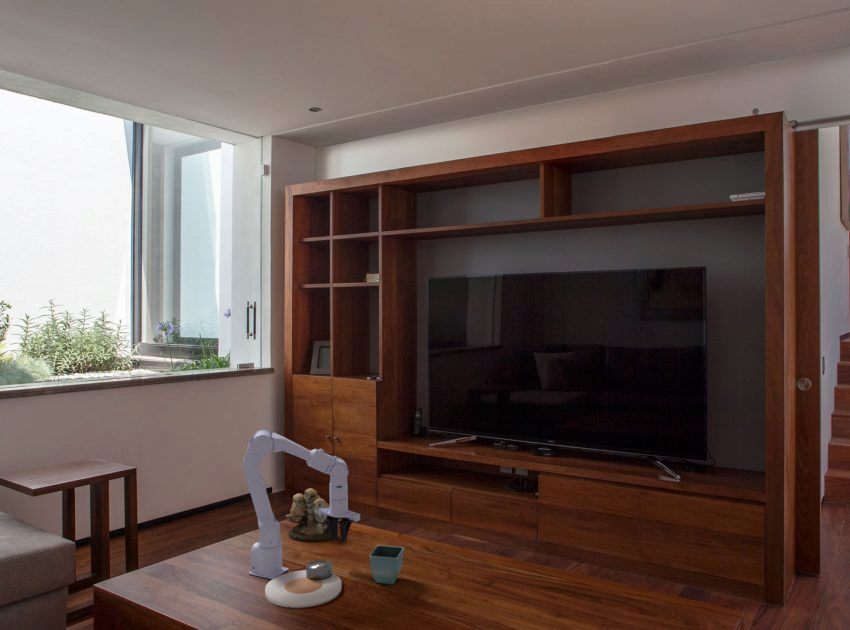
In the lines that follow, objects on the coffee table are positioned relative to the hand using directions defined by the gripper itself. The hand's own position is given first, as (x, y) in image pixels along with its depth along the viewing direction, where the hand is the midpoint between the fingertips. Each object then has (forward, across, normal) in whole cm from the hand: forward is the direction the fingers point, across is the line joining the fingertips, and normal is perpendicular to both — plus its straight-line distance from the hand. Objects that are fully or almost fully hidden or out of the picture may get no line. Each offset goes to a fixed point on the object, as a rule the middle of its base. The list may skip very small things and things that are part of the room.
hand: (339, 540), depth 211 cm
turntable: (+8, 0, +19) cm, 21 cm away
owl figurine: (+9, +25, -19) cm, 33 cm away
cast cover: (+7, 0, +11) cm, 13 cm away
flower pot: (+9, -19, +3) cm, 21 cm away
